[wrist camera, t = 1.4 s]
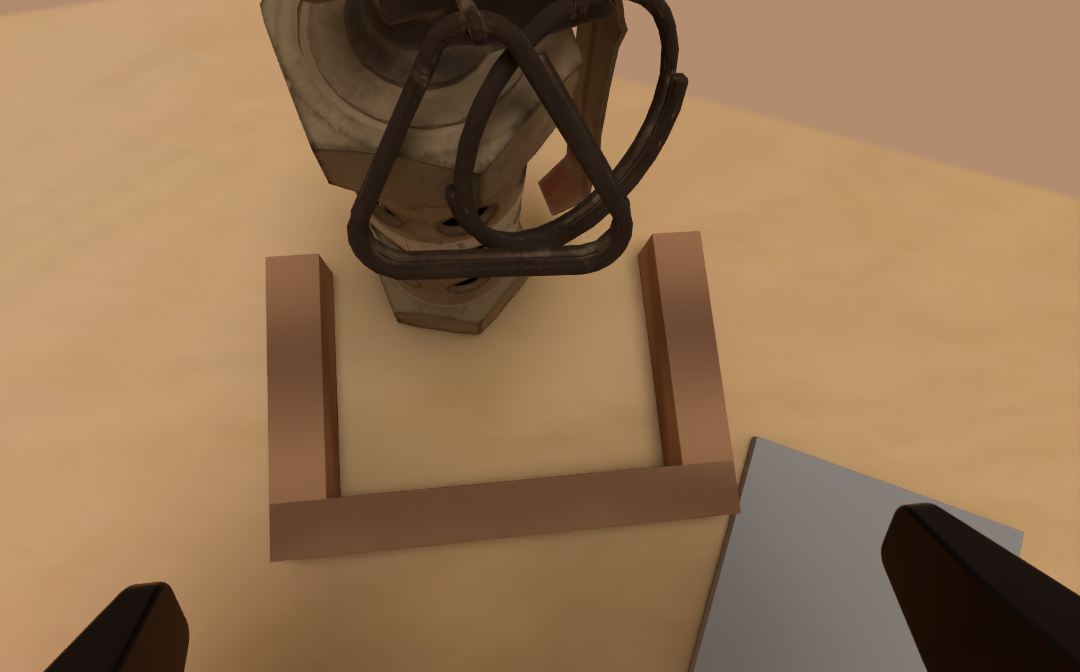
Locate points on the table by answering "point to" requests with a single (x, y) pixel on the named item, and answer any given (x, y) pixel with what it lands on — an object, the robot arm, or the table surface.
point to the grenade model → (468, 137)
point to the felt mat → (812, 571)
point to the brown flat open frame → (504, 507)
